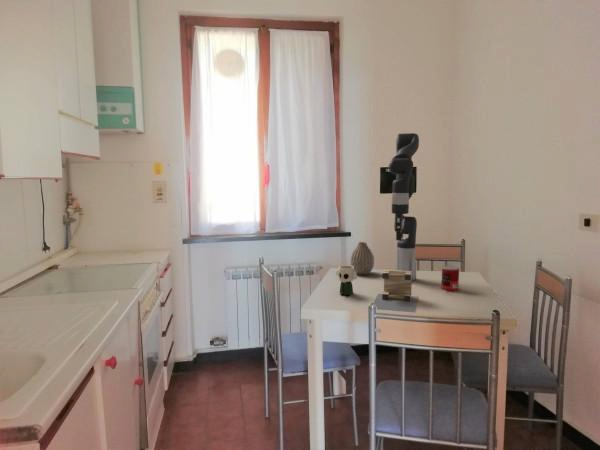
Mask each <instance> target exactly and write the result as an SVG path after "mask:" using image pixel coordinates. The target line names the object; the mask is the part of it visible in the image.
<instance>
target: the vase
mask: <svg viewBox="0 0 600 450" xmlns="http://www.w3.org/2000/svg"><path fill="white" fill-rule="evenodd" d="M349 262H350V266H353V267H354V272H356V273H357V276H367V275H369V274H370V273H371V272H372V271H373V269H374V267H375V256H374V253H373V252H372V250H371V248H369V246H368V243H367V242H365V241H359V242H358V244H357V246H356V247H355V249H354V250H353V251H352V254H351V256H350V261H349Z"/></svg>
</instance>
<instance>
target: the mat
mask: <svg viewBox="0 0 600 450" xmlns="http://www.w3.org/2000/svg"><path fill="white" fill-rule="evenodd" d="M382 294H383V293H377V295H376V297H375V299H374V301H373V303H374V304H375V305H376V307H377V309H376V310H382V311H395V312H403V313H405V312H406V313H416V311H417V306H418V300H419V296H417V295H415V296H414V295H411V300H410V302H406V301H404V299H398V298H389V299H388V300H382Z"/></svg>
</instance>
